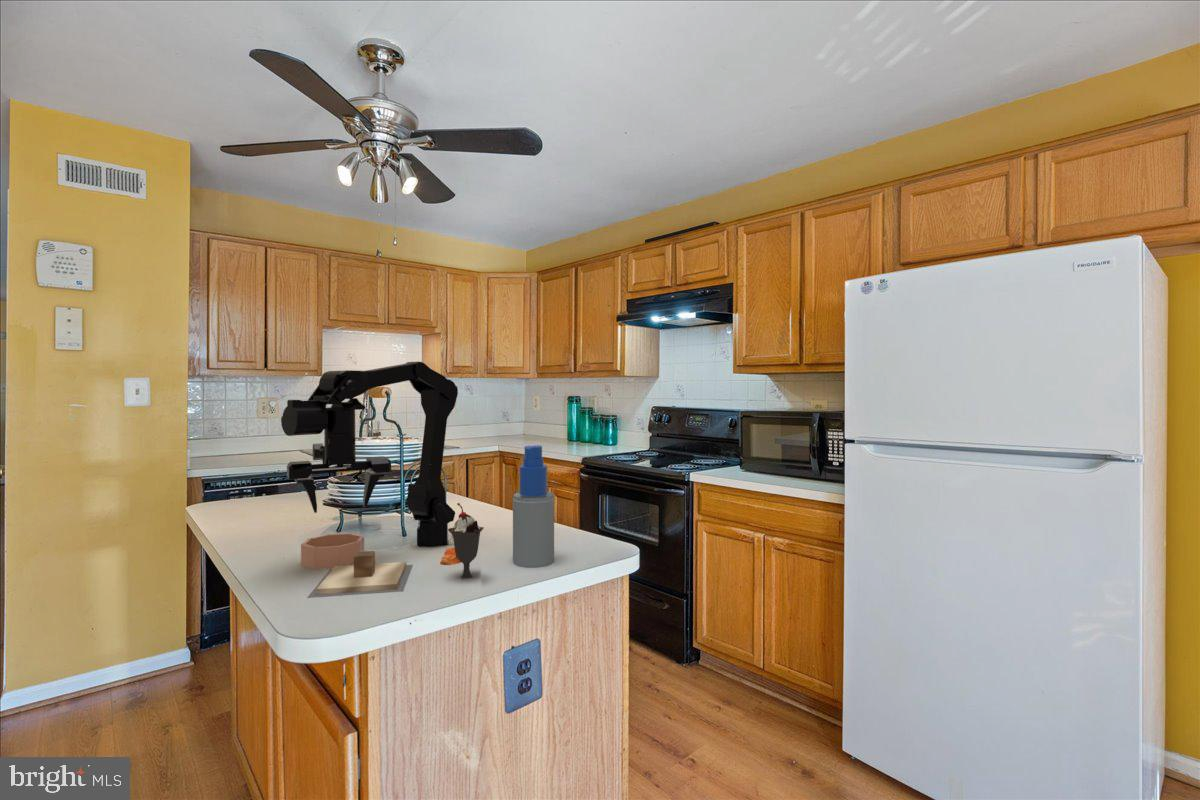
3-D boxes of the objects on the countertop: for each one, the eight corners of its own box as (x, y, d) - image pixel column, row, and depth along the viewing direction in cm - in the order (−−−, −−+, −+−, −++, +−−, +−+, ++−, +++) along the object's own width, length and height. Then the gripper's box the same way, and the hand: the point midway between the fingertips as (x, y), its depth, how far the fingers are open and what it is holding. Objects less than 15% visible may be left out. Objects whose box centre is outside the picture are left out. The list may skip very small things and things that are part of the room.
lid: (406, 566, 118) (406, 542, 118) (396, 589, 105) (396, 562, 105) (335, 570, 115) (334, 546, 115) (316, 594, 102) (316, 566, 102)
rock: (415, 576, 117) (415, 555, 117) (434, 558, 129) (434, 539, 129) (474, 576, 117) (474, 555, 117) (487, 558, 129) (487, 539, 129)
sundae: (451, 575, 115) (451, 500, 115) (485, 574, 115) (485, 500, 115) (445, 586, 108) (445, 507, 108) (481, 585, 109) (481, 506, 109)
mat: (413, 568, 119) (413, 564, 119) (403, 595, 104) (403, 591, 104) (330, 573, 116) (330, 569, 116) (307, 602, 100) (307, 597, 100)
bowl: (367, 554, 130) (367, 532, 130) (356, 570, 118) (356, 545, 118) (311, 557, 127) (311, 534, 127) (295, 573, 116) (295, 549, 116)
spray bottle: (535, 552, 131) (535, 443, 130) (562, 560, 125) (562, 445, 124) (504, 561, 124) (504, 446, 124) (531, 570, 118) (530, 449, 118)
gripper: (379, 428, 128) (380, 498, 128) (284, 432, 118) (285, 508, 118) (391, 431, 118) (392, 507, 119) (288, 435, 108) (289, 518, 109)
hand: (340, 509), depth 116 cm, fingers open, 9 cm apart
